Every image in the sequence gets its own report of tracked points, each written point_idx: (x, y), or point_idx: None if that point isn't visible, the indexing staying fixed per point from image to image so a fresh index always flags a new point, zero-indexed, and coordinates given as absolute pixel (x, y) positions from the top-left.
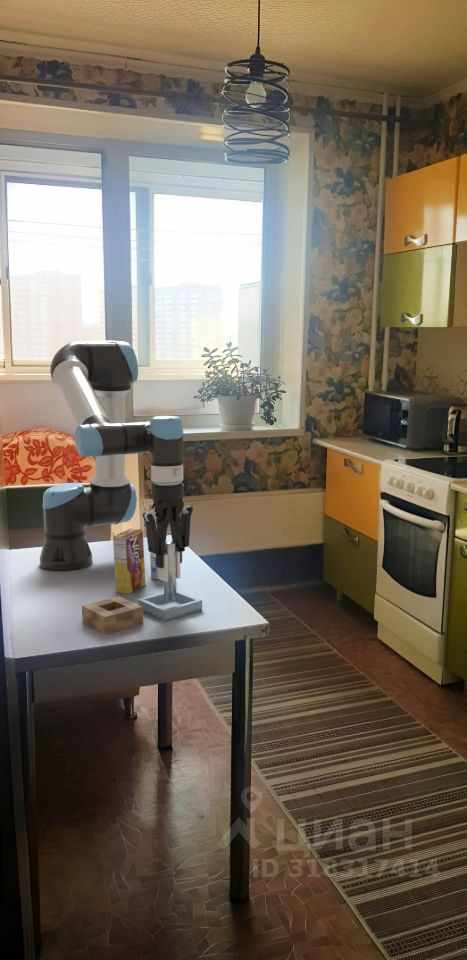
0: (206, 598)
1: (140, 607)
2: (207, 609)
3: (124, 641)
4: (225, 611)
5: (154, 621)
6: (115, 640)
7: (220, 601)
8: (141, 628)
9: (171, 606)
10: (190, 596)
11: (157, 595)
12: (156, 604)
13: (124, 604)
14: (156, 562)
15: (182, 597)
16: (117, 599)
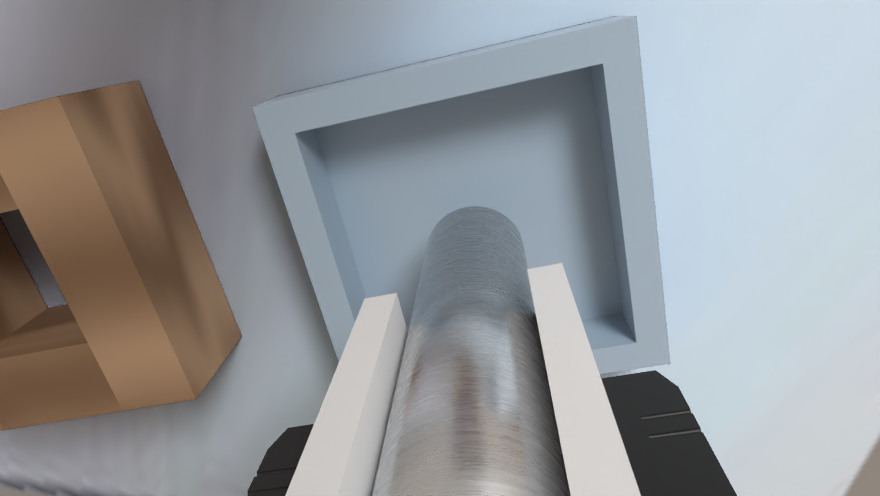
0: (831, 134)
1: (179, 401)
2: (687, 328)
3: (102, 481)
4: (755, 405)
5: (311, 340)
6: (63, 454)
7: (865, 243)
8: (215, 390)
9: (495, 203)
10: (649, 254)
11: (429, 98)
12: (416, 110)
13: (80, 303)
14: (255, 488)
15: (613, 180)
16: (40, 173)
